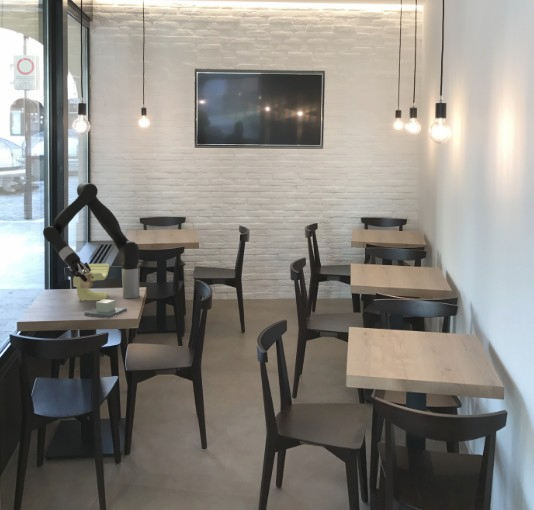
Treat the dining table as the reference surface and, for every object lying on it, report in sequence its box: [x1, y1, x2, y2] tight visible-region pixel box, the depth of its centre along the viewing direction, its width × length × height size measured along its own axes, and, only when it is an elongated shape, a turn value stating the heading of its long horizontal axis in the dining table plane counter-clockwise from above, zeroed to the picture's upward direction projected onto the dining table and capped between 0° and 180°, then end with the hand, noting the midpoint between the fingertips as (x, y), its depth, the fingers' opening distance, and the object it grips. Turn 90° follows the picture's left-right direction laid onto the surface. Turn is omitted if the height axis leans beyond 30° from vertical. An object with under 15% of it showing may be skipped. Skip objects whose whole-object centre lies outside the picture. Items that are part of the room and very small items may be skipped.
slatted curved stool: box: [72, 263, 110, 302], centre depth 419 cm, size 30×16×18 cm, turn 4°
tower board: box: [83, 299, 128, 319], centre depth 385 cm, size 16×16×7 cm
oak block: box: [80, 272, 94, 289], centre depth 384 cm, size 4×4×8 cm
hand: (89, 279), depth 383 cm, fingers closed on oak block, 4 cm apart
